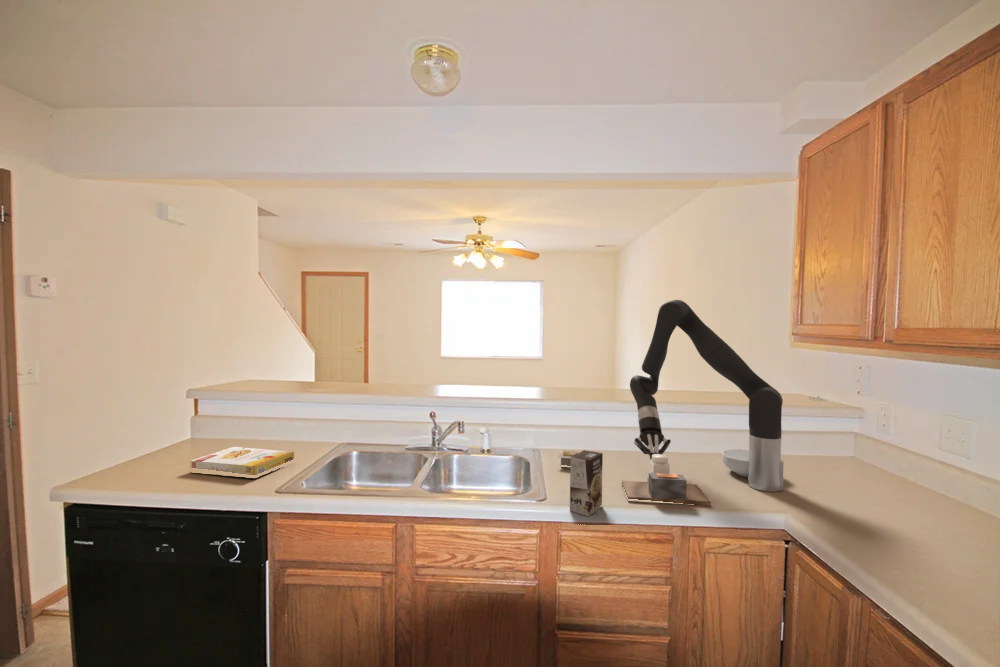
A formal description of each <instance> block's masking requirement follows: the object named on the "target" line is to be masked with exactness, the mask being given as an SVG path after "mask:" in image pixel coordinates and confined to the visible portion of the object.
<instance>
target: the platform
mask: <svg viewBox="0 0 1000 667" xmlns="http://www.w3.org/2000/svg"><path fill="white" fill-rule="evenodd" d="M577 453H579V451H575V450H574V451H572V450H567V449H566V450H565V449H564V450H563V453H560V454H557V458H560V466H561V465H567V466H571V456H573V455H575V454H577Z"/></svg>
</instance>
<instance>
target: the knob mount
mask: <svg viewBox="0 0 1000 667" xmlns="http://www.w3.org/2000/svg"><path fill="white" fill-rule="evenodd" d="M646 479H647V480H646V481H635V480H633V481H632V480H631V481H630V480H621V485H622V484H623V487H624V489H625V492H626V495H627V497H628V499H638V500H651V501H663V502H673V503H683V504H694V505H693V506H698V505H707V506H706V507H711V506H712V505H711V503H712V502H711V500H710V499H709V497H708V496H707V495H706V493H704V492H703V490H702V489H701V488H700V487H699V486H698V484H697V483H696V484H695V483H692V484H691V483H687V479H686V478H685V476H684V475H683V474H678V473H669V474H664V473H650V472H649V473H648V477H647V478H646ZM623 487H622V488H623ZM625 492H624V493H625ZM626 495H625V496H626Z"/></svg>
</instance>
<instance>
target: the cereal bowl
mask: <svg viewBox="0 0 1000 667" xmlns="http://www.w3.org/2000/svg"><path fill="white" fill-rule="evenodd" d="M721 456H722V462H723V464H724V466H725V467H726V468H727V469H728V470H730V471H731V472H734V473H735V474H736V475H738V476H741V477H745V478H748V475H749V449H742V448H733V449H726V450H723V451H722V453H721Z"/></svg>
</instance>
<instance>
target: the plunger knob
mask: <svg viewBox="0 0 1000 667" xmlns="http://www.w3.org/2000/svg"><path fill="white" fill-rule="evenodd" d="M649 461H650V460H649ZM649 469H650V472H649V473H664V474H670V464H669V456H668V455H666V454H664V453H663V454H653V455H652V460H651V461H650V468H649Z"/></svg>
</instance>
